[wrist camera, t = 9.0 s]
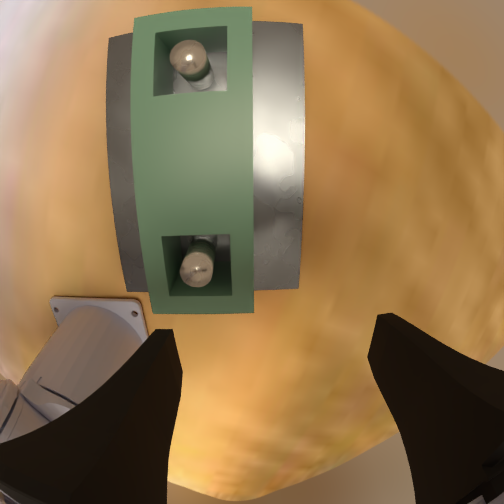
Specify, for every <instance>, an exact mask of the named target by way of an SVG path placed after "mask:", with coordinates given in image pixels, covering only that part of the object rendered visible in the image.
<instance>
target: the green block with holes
mask: <svg viewBox="0 0 504 504" xmlns="http://www.w3.org/2000/svg"><path fill="white" fill-rule="evenodd" d="M184 40H195V41H198V42H199V43H201V44H202V45H203V47H204V49H205V51H206V53H211V52H227V91H206V92H191V93H180V94H173V69H174V67H173V66H172V64H171V63H170V52H171V50H172V49H173V47H174V46H175V45H176V44H178V43H179V42H181V41H184ZM131 144H132V163H133V177H134V189H135V199H136V209H137V218H138V226H139V234H140V242H141V249H142V255H143V262H144V268H145V274H146V280H147V286H148V291H149V296H150V302H151V307H152V312H153V314H234V313H254V220H253V69H252V7H217V8H202V9H191V10H181V11H173V12H166V13H160V14H154V15H148V16H143V17H138V18H134V28H133V41H132V58H131ZM214 234H230V250H231V261H218V262H214V267H213V273H212V278H211V280H210V282H209V283H208V284H207V285H205V286H203V287H192V286H189V285H187V284H186V283H185V282H184V281H183V280H182V278H181V275H180V268H181V265H182V263H183V262H182V252H181V242H180V236H182V235H214Z"/></svg>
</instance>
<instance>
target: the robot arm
mask: <svg viewBox="0 0 504 504" xmlns="http://www.w3.org/2000/svg"><path fill="white" fill-rule="evenodd" d="M50 305H51V308H52V311H53V314H54V317H55V319H56V322H57V325H58V328H57V329H56V331H55V332H54V333H53V335H52V336H51V337H50V339H49V340H48V341H47V343H46V344H45V346H44V347H43V348H42V350H41V351H40V353H39V354H38V355H37V357H36V358H35V360H34V361H33V363H32V364H31V366H30V367H29V369H28V370H27V372H26V373H25V375H24V376H23V378H22V379H21V381H20V382H19V384H18V385H17V386H16V385H15V384H14V383H13V382H12V381H11V380H10V379H8V380H0V504H167V475H168V459H169V451H170V445H171V440H172V435H173V431H174V426H175V421H176V416H177V411H178V407H179V402H180V397H181V387H182V374H183V371H182V367H181V363H180V359H179V355H178V351H177V346H176V342H175V338H174V333H173V329H156V330H155V331H154V332H153V333H152V334H151V335H150V336H149V337H148V333H147V329H146V324H145V320H144V316H143V311H142V307H141V304H140V302H139V301H137V300H135V299H107V298H78V297H56V296H54V297H52V298H51V299H50ZM56 307H57V308H58V309H57V308H56ZM133 311H136V312H137V313H138V314H135V313H134V312H133ZM367 358H368V361H369V364H370V367H371V370H372V373H373V376H374V379H375V381H376V383H377V385H378V387H379V389H380V391H381V393H382V395H383V397H384V399H385V401H386V403H387V405H388V407H389V409H390V412H391V414H392V416H393V418H394V420H395V422H396V424H397V427H398V429H399V431H400V434H401V437H402V440H403V444H404V447H405V450H406V454H407V457H408V461H409V466H410V469H411V475H412V480H413V485H414V491H415V500H416V504H504V371H502V370H499V369H496V368H493V367H490V366H488V365H485V364H483V363H480V362H478V361H476V360H474V359H471V358H469V357H467V356H465V355H463V354H461V353H459V352H457V351H456V350H454V349H452V348H450V347H448V346H446V345H445V344H443V343H441V342H440V341H438V340H436V339H435V338H433V337H431V336H430V335H428V334H427V333H425V332H423V331H422V330H420V329H419V328H417V327H415V326H414V325H412V324H411V323H409V322H407V321H406V320H404V319H402V318H401V317H399V316H397V315H395V314H393V313H386V314H379V315H377V319H376V324H375V328H374V332H373V337H372V341H371V345H370V349H369V352H368V356H367Z"/></svg>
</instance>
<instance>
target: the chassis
mask: <svg viewBox="0 0 504 504" xmlns="http://www.w3.org/2000/svg"><path fill="white" fill-rule="evenodd" d="M132 41H133V33H128V34H124V35H119V36H115V37H111V38H109V44H108V58H107V79H106V128H107V151H108V166H109V178H110V188H111V198H112V206H113V214H114V222H115V228H116V235H117V241H118V247H119V253H120V259H121V264H122V270H123V275H124V280H125V284H126V289H127V292H149V291H148V286H147V280H146V274H145V268H144V262H143V255H142V249H141V242H140V234H139V226H138V218H137V209H136V199H135V189H134V177H133V163H132V144H131V58H132ZM170 63H171V64H172V66H173V67H174V69H173V94H180V93H191V92H206V91H227V52H211V53H206V51H205V49H204V47H203V45H202V44H201V43H199V42H198V41H195V40H184V41H181V42H179V43H178V44H176V45H175V46H174V47H173V49H172V50H171V52H170ZM252 69H253V220H254V290H277V289H298V288H299V274H300V258H301V241H302V220H303V195H304V156H305V83H304V46H303V24H297V23H285V22H266V21H252ZM180 242H181V252H182V262H183V263H182V265H181V268H180V275H181V278H182V280H183V281H184V282H185V283H186V284H187V285H189V286H192V287H203V286H205V285H207V284H208V283H209V282H210V280H211V278H212V273H213V267H214V262H218V261H231V250H230V234H214V235H182V236H180Z"/></svg>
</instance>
